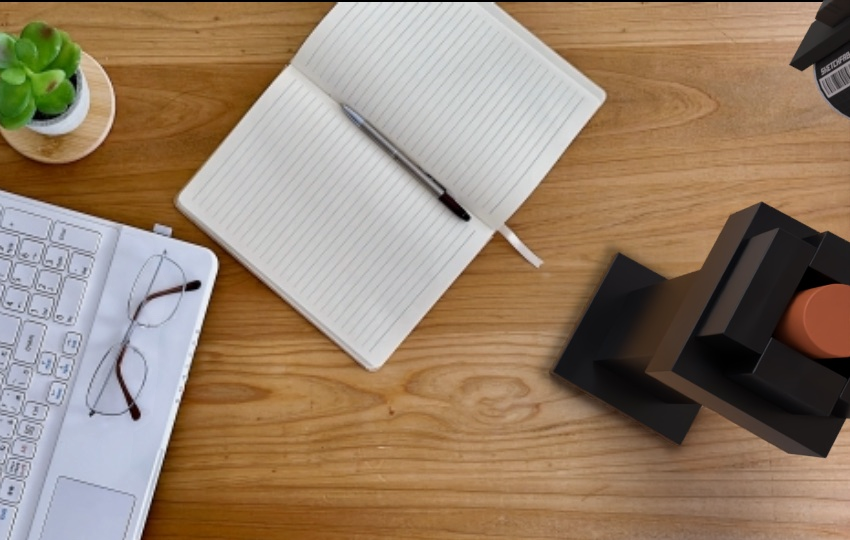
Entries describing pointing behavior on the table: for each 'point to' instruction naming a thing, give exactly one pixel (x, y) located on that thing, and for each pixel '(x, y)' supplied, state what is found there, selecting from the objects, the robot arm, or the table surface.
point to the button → (817, 322)
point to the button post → (717, 338)
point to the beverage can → (835, 79)
